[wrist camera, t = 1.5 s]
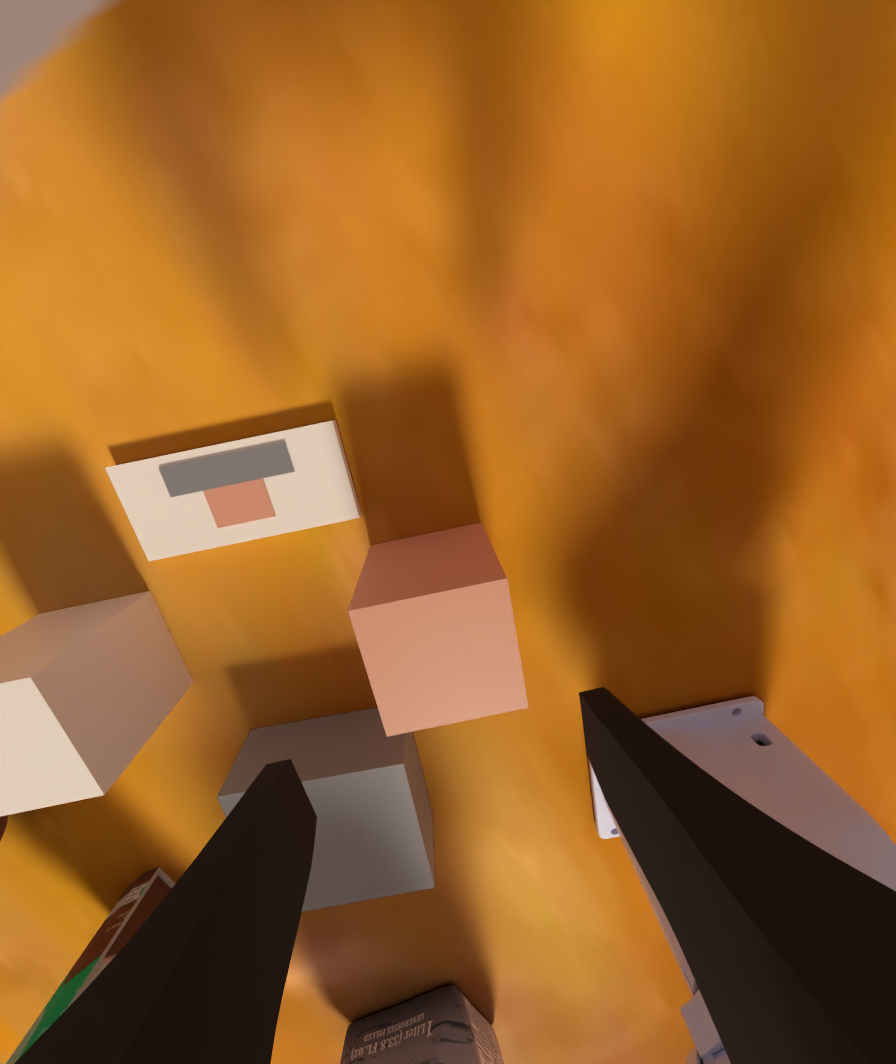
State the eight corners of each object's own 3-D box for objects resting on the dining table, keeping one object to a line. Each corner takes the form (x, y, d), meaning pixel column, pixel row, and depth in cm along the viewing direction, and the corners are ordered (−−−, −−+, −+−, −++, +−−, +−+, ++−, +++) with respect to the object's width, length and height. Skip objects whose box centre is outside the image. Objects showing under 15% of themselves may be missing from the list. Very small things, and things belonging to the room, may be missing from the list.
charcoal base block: (406, 698, 21) (403, 763, 18) (432, 809, 24) (434, 887, 20) (253, 725, 21) (217, 796, 18) (295, 834, 24) (272, 917, 20)
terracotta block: (480, 522, 18) (507, 578, 13) (497, 619, 20) (528, 707, 14) (370, 545, 18) (347, 610, 13) (396, 640, 20) (386, 736, 14)
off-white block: (150, 590, 18) (30, 677, 13) (194, 681, 20) (104, 795, 14) (40, 613, 18) (-129, 710, 13) (92, 702, 20) (-37, 824, 14)
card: (335, 419, 17) (331, 420, 16) (361, 513, 18) (359, 518, 17) (115, 465, 17) (103, 468, 16) (157, 556, 18) (147, 562, 17)
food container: (49, 887, 24) (-202, 1218, 14) (142, 850, 23) (-51, 1166, 14) (178, 998, 27) (50, 1317, 18) (261, 968, 27) (174, 1279, 17)
